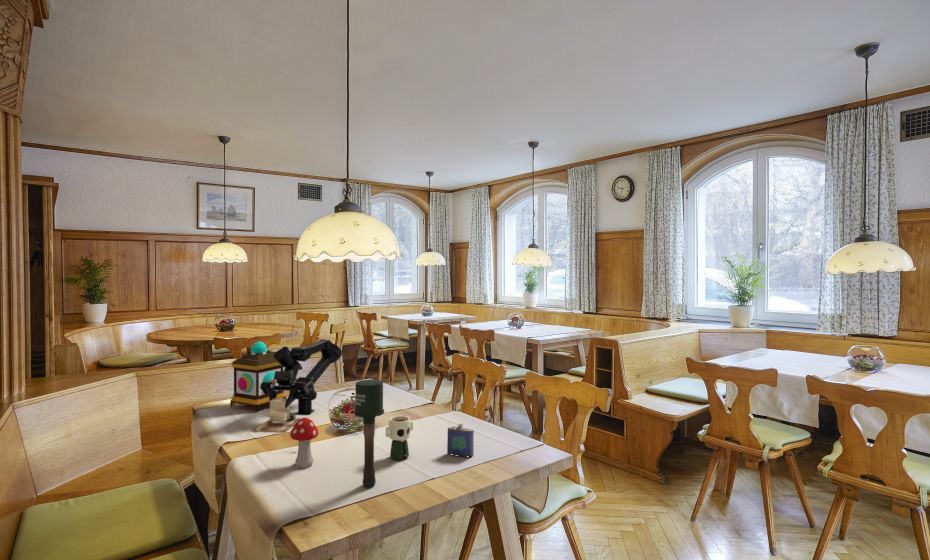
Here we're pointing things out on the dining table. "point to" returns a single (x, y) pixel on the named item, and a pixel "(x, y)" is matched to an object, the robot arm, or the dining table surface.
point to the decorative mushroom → (304, 441)
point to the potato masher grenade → (369, 421)
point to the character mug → (399, 435)
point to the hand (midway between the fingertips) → (278, 407)
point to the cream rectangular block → (279, 409)
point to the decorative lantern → (254, 376)
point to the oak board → (277, 425)
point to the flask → (460, 441)
